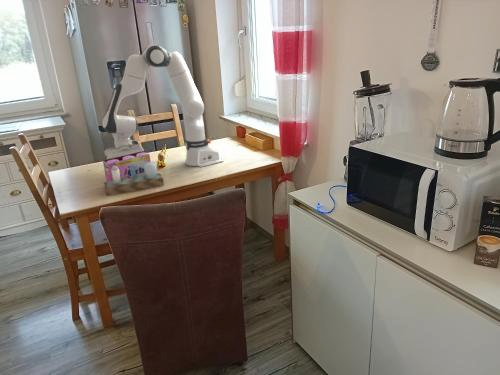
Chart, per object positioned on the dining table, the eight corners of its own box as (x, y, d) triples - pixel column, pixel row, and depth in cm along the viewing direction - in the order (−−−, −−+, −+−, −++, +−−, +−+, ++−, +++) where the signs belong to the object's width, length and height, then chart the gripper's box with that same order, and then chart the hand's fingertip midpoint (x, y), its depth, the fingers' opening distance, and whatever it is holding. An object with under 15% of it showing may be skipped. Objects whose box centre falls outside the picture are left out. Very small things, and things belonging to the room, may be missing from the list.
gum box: (149, 173, 220) (145, 150, 215) (155, 177, 215) (152, 153, 209) (106, 184, 207) (102, 160, 202) (112, 189, 201) (107, 163, 196)
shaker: (120, 180, 199) (117, 164, 196) (121, 183, 196) (118, 166, 193) (113, 182, 198) (110, 165, 195) (113, 184, 195) (111, 167, 192)
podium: (160, 180, 210) (159, 172, 209) (164, 185, 203) (163, 177, 202) (105, 189, 200) (103, 182, 198) (106, 195, 193) (105, 187, 192)
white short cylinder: (156, 173, 207) (155, 161, 205) (159, 177, 202) (157, 164, 199) (144, 175, 205) (142, 163, 202) (146, 179, 199) (144, 166, 197)
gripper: (103, 146, 211) (108, 169, 206) (142, 140, 218) (148, 162, 214) (104, 151, 216) (108, 174, 212) (142, 146, 224) (147, 168, 219)
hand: (128, 168), depth 213 cm, fingers closed
